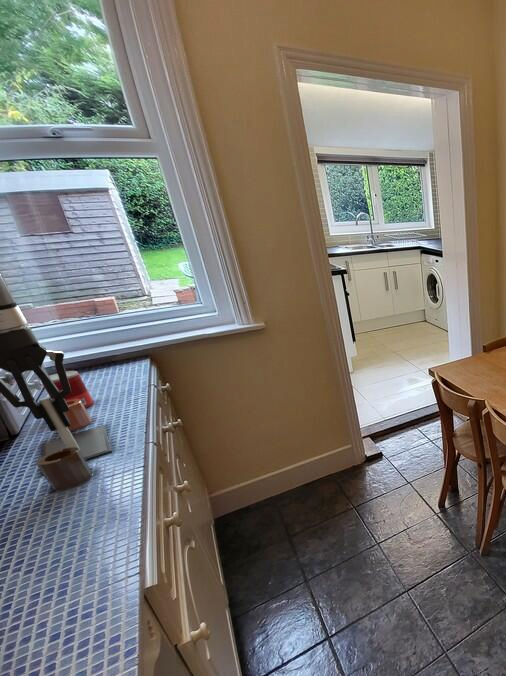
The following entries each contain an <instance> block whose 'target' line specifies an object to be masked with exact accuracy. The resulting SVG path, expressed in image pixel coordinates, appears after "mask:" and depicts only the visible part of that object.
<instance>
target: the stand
mask: <svg viewBox="0 0 506 676" xmlns="http://www.w3.org/2000/svg"><path fill="white" fill-rule="evenodd" d="M35 464H36V465H37V467H38V469H39V470H40V472H42V473H43V477H44V478H45V479H46V481H47V483H49V486H50V487H51V489H52V490H54V491H63V490H67V489H71V488H73V487H76V486H79V485H81V484H84V482H86V481H88V480H89V479H91V478H92V477H93V475H94V473H93V472H92V470H91V468H90V466H89V464H88V463H87V461H85V459H84V458H83V456H82V454H81V453H80V451H79V449H78V448H75V447H71V448H65V449H61V450H57V451H55V452H51V453H49V454H47V455H45V456H43V457H42V456H41V457H40V458H38V459H37V460H36V462H35Z"/></svg>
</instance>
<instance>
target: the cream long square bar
mask: <svg viewBox="0 0 506 676" xmlns="http://www.w3.org/2000/svg"><path fill="white" fill-rule="evenodd" d="M39 402H40V403H41V405H42V406H43V408H44V410H45V411H46V413H47V415H48V417H49V418H50V420H51V422H52V423H53V425H54V427H55V428H56V430H55V431H56V432H57V433H58V435H59V438H61V439H62V440H63V442H64V444H65V445H66V447H67V448H71V447H75V448H78V449H79V451H80V448H79V446H78V445H77V443H76V441H75V440H74V438H73V436H72V433H71V430H70V431H69V429H68V427H66V426H65V424H64V423H63V421H62V419H61V418H60V416H59V414H58V412H57V411H56V409H55V407H54V406H53V404H52V399H51V398H50V396H46V397H43V398H40V399H39V400H38V403H39Z"/></svg>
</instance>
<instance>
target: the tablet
mask: <svg viewBox="0 0 506 676" xmlns="http://www.w3.org/2000/svg"><path fill="white" fill-rule="evenodd" d="M71 434H72V433H71ZM72 436H73V438H74V440H75V441H76V443H77V445H78V446H79V448H80V453H81V454H82V456H83V458H84V459H85V461H86V462H87V461H90V460H93V459H97V458H98V457H103V456H105V455H108V454H111V453H113V450H112V446H111V442H110V440H109V439H110V438H109V436H108V432H107V429H106V425H105V424H102V425H100V426H96V427H92V428H89V429H86V430H82V431H79V432H76V433H73V434H72ZM65 448H67V447H66V445H65V444H64V442H63V440H62V439H61V437H59V438H56V439H53V440H50V441H46V442H43V443H41V458H42V457H43V456H45V455H47V454H49V453H51V452H55V451H57V450H61V449H65ZM40 472H41V471H40ZM41 476H42V477H44V475H43V473H42V472H41Z"/></svg>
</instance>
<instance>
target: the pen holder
mask: <svg viewBox="0 0 506 676" xmlns="http://www.w3.org/2000/svg"><path fill="white" fill-rule="evenodd" d="M66 403H67V405H68V406H69V411H67V412H65V414H66V416H67V417H68V419H69V421H70V424H71V426H69V427H68V429H69V431H70V432H71V431H74V430H78V429H81V428H83V427H86V426H88V425H90V424H91V423H92V421H93V420H92V418H91V416H90V414H89V412H88V411H87V408H85V407H84V405H83V403H82V402H81V400H80V399H73V400H67V401H66Z"/></svg>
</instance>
